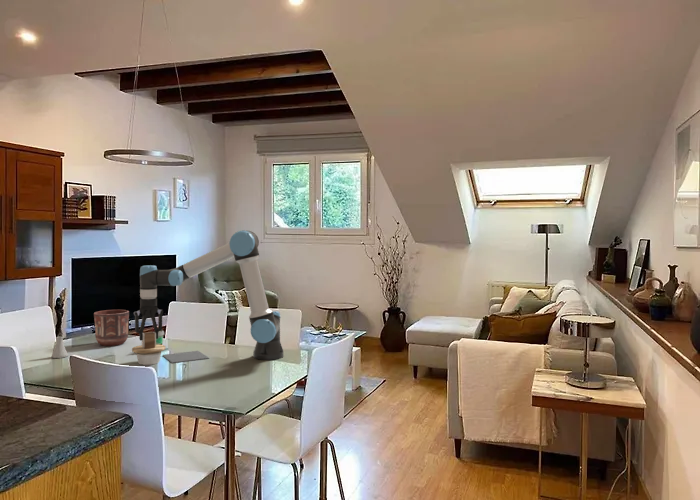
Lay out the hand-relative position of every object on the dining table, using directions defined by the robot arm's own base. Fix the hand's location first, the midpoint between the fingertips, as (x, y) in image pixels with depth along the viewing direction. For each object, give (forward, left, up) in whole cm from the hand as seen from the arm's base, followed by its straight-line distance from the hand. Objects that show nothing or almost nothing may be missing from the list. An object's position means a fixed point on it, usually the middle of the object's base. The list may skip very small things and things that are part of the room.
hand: (148, 346), depth 259 cm
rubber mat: (+2, -18, -8) cm, 20 cm away
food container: (+26, -10, -8) cm, 29 cm away
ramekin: (0, 0, -8) cm, 8 cm away
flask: (+35, +35, -8) cm, 50 cm away
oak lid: (0, 0, -2) cm, 2 cm away
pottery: (+54, +8, -8) cm, 55 cm away
